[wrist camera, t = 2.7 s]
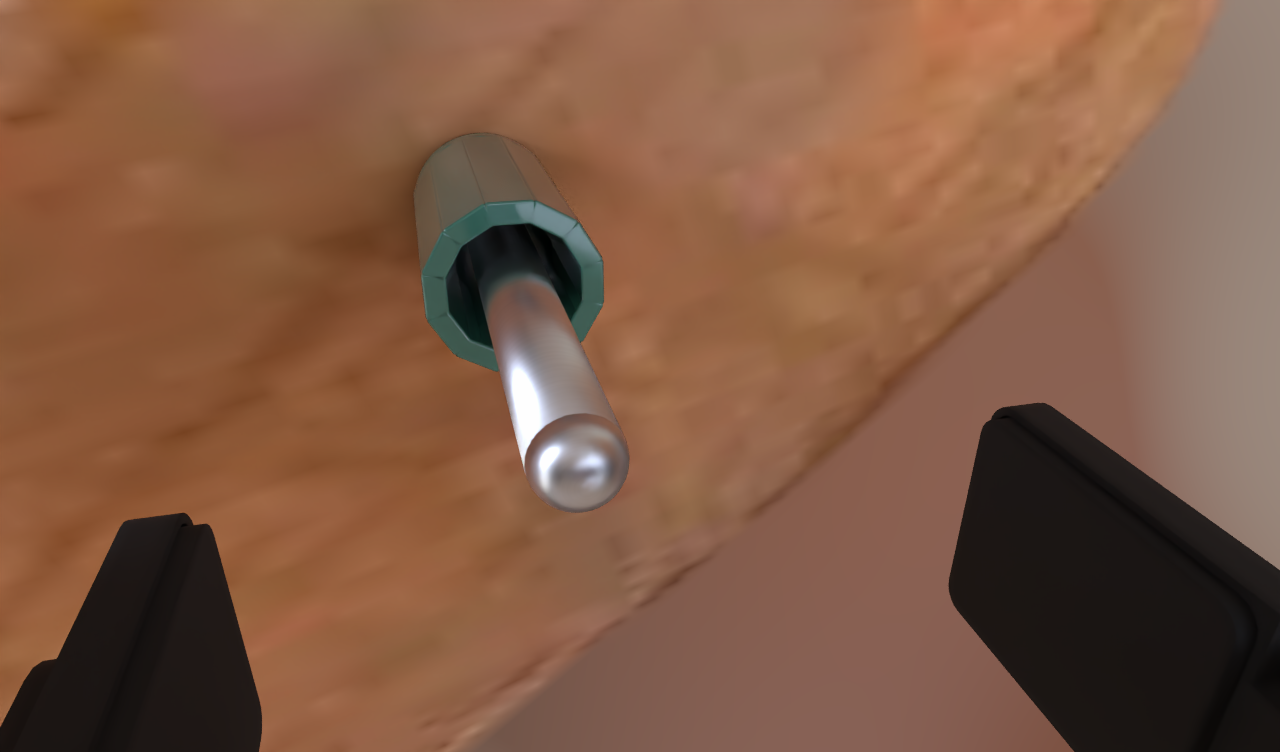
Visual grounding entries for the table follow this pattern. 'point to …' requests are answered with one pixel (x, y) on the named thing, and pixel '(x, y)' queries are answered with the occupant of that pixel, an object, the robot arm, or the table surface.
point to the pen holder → (474, 202)
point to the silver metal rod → (547, 377)
